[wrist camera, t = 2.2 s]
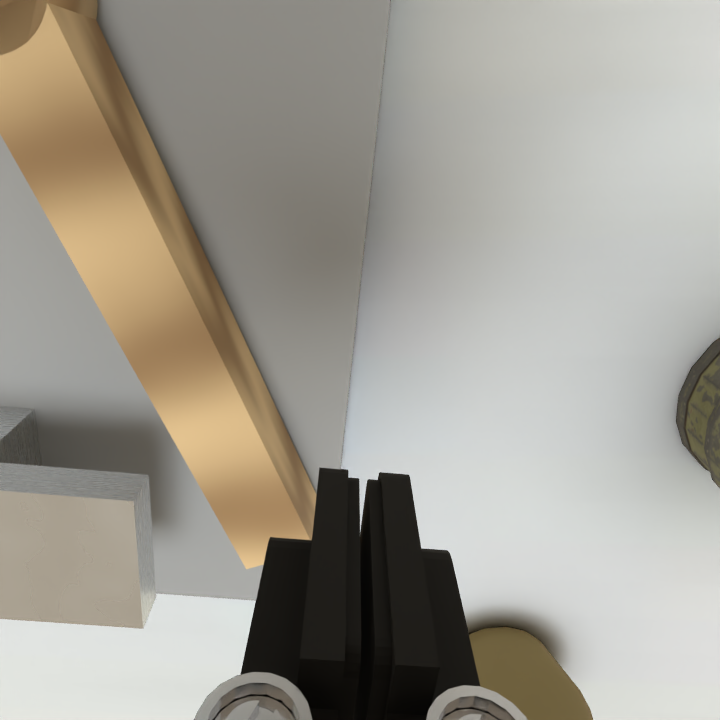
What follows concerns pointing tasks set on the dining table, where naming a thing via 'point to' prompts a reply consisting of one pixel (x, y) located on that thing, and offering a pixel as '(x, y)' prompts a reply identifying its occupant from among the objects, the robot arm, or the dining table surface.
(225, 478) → the oak link
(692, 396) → the olive green pillar
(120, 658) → the dining table surface
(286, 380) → the base plate
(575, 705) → the squeeze bottle
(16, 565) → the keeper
